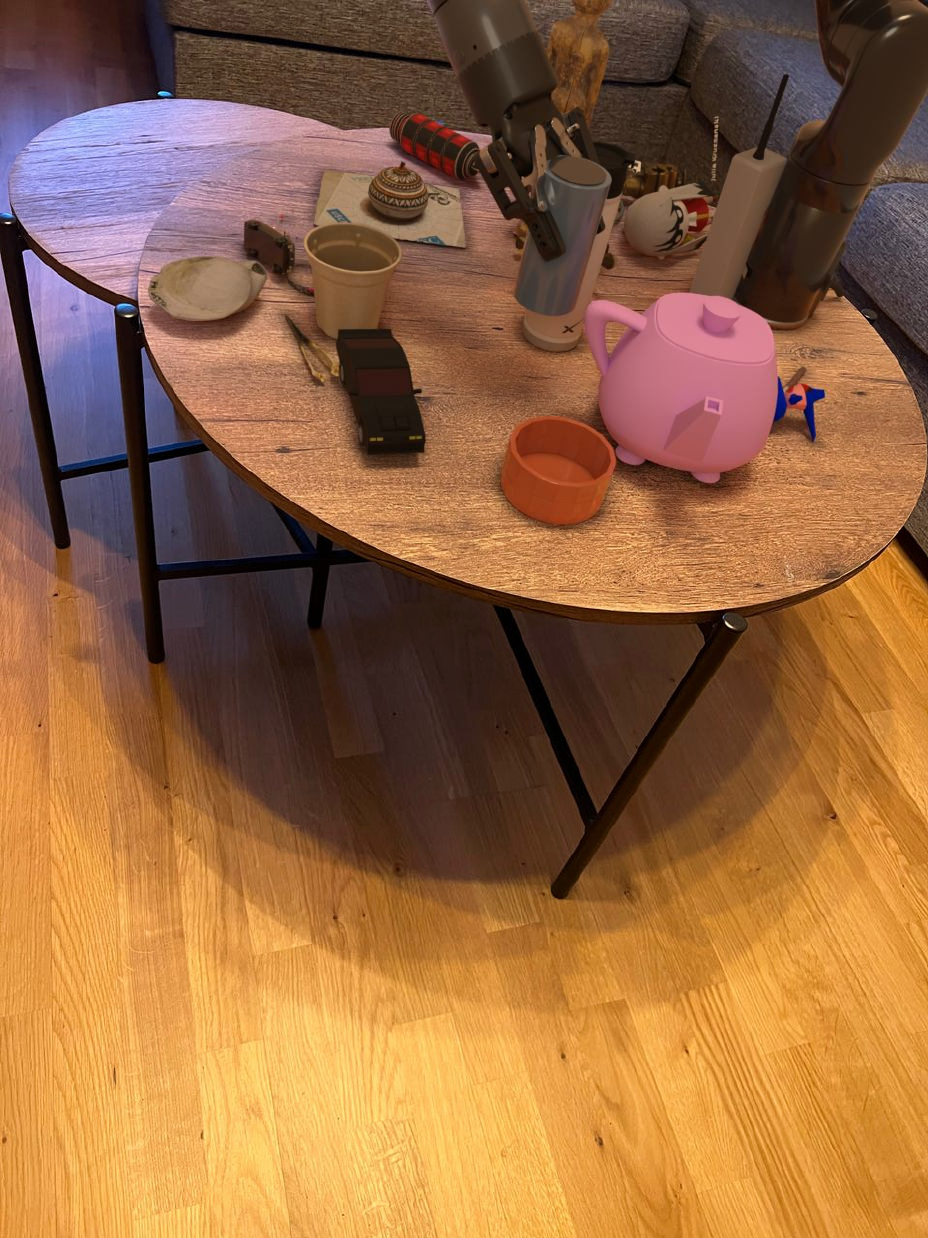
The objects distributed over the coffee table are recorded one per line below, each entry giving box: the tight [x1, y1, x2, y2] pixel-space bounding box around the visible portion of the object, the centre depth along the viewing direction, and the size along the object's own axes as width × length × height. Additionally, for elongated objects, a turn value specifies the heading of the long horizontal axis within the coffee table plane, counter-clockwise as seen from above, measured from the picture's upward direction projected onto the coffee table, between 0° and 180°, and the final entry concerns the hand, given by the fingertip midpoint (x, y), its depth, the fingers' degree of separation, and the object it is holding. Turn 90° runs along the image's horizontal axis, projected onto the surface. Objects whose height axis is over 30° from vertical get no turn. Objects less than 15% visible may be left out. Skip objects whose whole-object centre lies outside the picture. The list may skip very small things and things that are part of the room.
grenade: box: [388, 110, 481, 181], centre depth 126 cm, size 6×5×15 cm
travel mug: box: [521, 141, 637, 353], centre depth 98 cm, size 6×7×20 cm
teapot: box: [583, 292, 779, 484], centre depth 89 cm, size 20×20×15 cm
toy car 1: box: [242, 214, 296, 275], centre depth 106 cm, size 4×12×8 cm
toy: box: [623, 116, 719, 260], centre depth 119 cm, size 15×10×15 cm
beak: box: [284, 313, 340, 383], centre depth 96 cm, size 12×3×1 cm, turn 25°
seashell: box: [147, 255, 268, 322], centre depth 96 cm, size 12×8×5 cm
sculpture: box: [512, 0, 613, 236], centre depth 107 cm, size 7×6×30 cm
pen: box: [782, 365, 808, 393], centre depth 105 cm, size 11×1×1 cm, turn 146°
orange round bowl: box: [500, 415, 617, 526], centre depth 87 cm, size 9×9×4 cm
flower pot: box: [303, 222, 403, 340], centre depth 97 cm, size 9×9×9 cm
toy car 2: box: [335, 328, 427, 456], centre depth 90 cm, size 7×16×5 cm, turn 15°
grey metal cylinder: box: [513, 155, 612, 316], centre depth 87 cm, size 6×6×12 cm
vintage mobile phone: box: [688, 73, 790, 300], centre depth 107 cm, size 4×5×25 cm
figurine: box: [773, 376, 826, 444], centre depth 100 cm, size 5×8×5 cm, turn 86°
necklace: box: [285, 264, 314, 297], centre depth 104 cm, size 4×6×1 cm, turn 16°
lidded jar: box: [313, 160, 467, 248], centre depth 116 cm, size 15×18×7 cm
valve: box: [622, 162, 688, 198], centre depth 129 cm, size 7×15×5 cm, turn 89°
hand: (576, 245), depth 87 cm, fingers closed on grey metal cylinder, 6 cm apart
